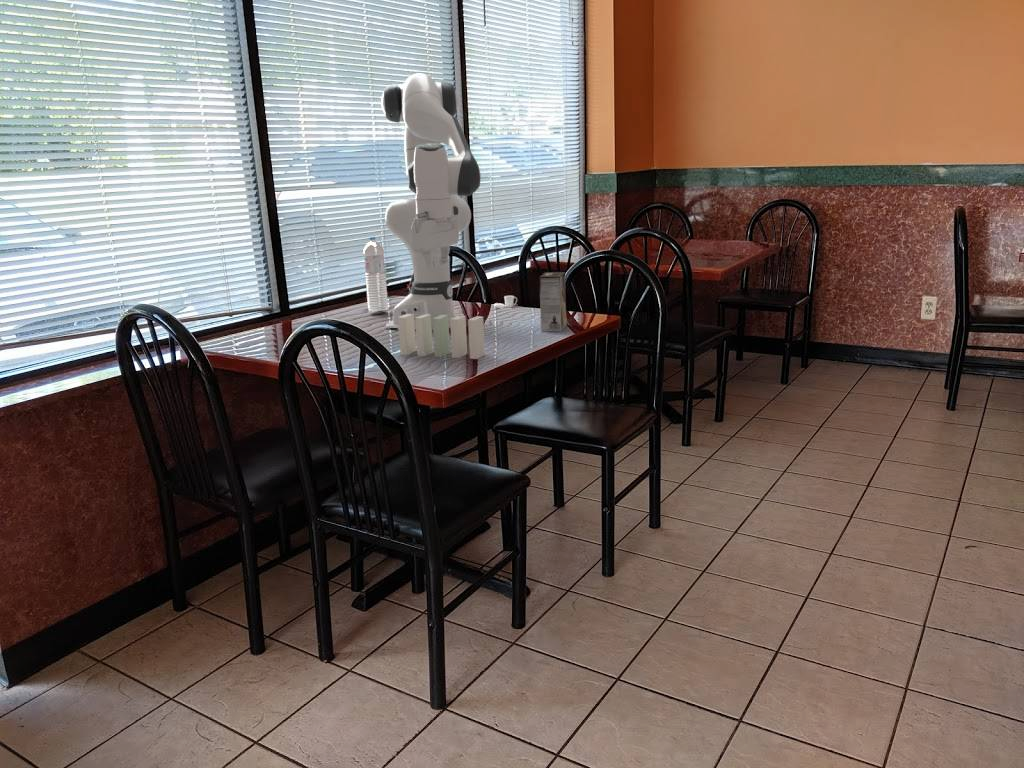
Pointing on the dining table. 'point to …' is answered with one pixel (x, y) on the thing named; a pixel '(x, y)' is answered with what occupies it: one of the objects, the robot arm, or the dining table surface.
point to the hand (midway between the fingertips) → (437, 266)
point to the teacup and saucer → (506, 302)
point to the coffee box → (553, 301)
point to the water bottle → (375, 276)
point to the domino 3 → (441, 335)
